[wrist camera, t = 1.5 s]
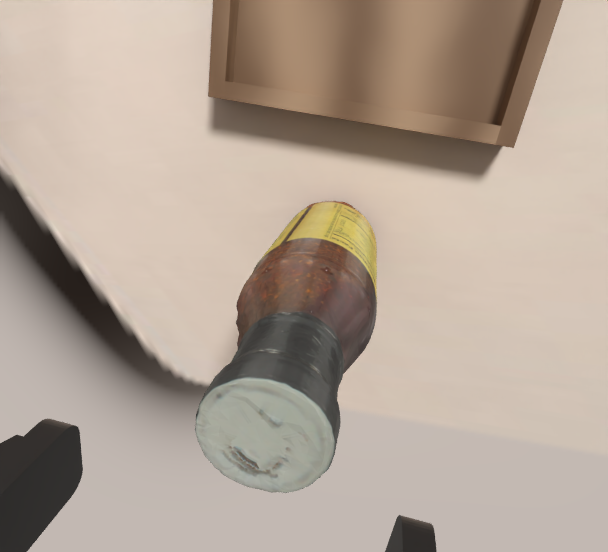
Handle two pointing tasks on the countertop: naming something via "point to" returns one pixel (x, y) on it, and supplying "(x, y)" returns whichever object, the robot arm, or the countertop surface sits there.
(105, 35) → the countertop surface
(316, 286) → the sauce bottle
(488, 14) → the walnut tray
